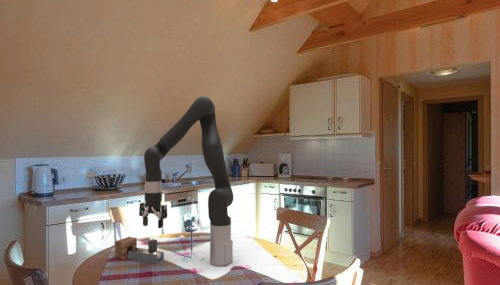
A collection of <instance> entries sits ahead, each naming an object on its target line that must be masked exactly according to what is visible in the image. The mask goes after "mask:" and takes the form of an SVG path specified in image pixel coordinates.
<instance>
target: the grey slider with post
mask: <svg viewBox="0 0 500 285" xmlns="http://www.w3.org/2000/svg"><path fill="white" fill-rule="evenodd" d="M147 242H148V244H147V246H148V248H147V249H148V251H147V250H141V249H137V250H136V251H137V252H142V253H148V254H154V255H157V259H161V257H162V254H161V253H159V252H156V251H158V239H154V238H152V239H149V240H148V241H147Z"/></svg>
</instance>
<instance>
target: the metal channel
mask: <svg viewBox="0 0 500 285" xmlns="http://www.w3.org/2000/svg"><path fill="white" fill-rule="evenodd" d="M137 249H141V250H147V251H148V248H144V247H143V248H142V247H137V248H135V251H131V250H129V251H128V257H127V259H128V260H133V261H139V262H143V263H144V262H145V263H150V264H155V265H156V264H158V263H160V262H162V261H164V260H165V258H164V257H165V256H164V254H165V252H164V251H160V250H157V251H156V252H159V253H161V254H162V257H161V259H157V255H154V254H148V253H142V252H137V251H136V250H137Z"/></svg>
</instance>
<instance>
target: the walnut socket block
mask: <svg viewBox="0 0 500 285" xmlns="http://www.w3.org/2000/svg"><path fill="white" fill-rule="evenodd" d="M137 239H138V238H137V237H134V236H126V237H124V238H121V239H118V240H116V241H115V242H114V244H115V245H114V250H115V251H114V252H115V253H114V257H115V258H116V259H120V260H124V259H126V258H127V259H128V251H129V250H131V251H135V248H138V247H137V246H138V245H137V242H138V240H137Z"/></svg>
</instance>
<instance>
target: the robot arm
mask: <svg viewBox="0 0 500 285" xmlns="http://www.w3.org/2000/svg"><path fill="white" fill-rule="evenodd" d="M215 108H216V106H215V104H214V102H213V101H212V100H211V98H210V97H208V96H205V95H204V96H199V97H198V98H196V99H195V100H194V101H193V102H192V104H191V105H190V107H189V108H188V109H187V111H185V113H184V114H183V115H182V116H181V117H180V118H179V120H178V121H177V122H176V123H175V124H173V126H171V128H169V129H168V130H167V131H166V132H165V133H164V134H163V135H162V136H161V137H160V138H159V141H158V142H157V143H155V145H153V147H148V148H147V149H146V150H145V152H144V155H143V156H144V157H143V161H144V169H145V181H144V182H145V183H144V202H140V203H139V208H138V209H139V212H138V215H139V217H142V226H143V227H147V226H149V216H150V215H151V214H152V215H154V216H156V218H157V220H158V221H157V229H162V228H163V227H164V219H167V218H168V205H167V204H162V201H163V184H162V183H163V182H162V179H163V178H162V174H163V173H162V169H161V165H160V164H161V160H162V159H164V158H165V157H166V155H168V153H169V152H170V151H171V150H172V149H173V148H174V147H175V146H176V145H177V144H178V143H179V142H180V141H181V140H182V139H183V138H184V137H185V136H186V134H187V133H188V132H189V131H190V129H191V128H192V127H193V126H194V125H195V124H197V122H198V121H199V124H200V128H201V151H202V155H203V156H202V157H203V159H204V163H205V166H206V167H207V169H208V172H209V173H210V174H211V176H212V179H213V183H214V189H212V190H211V191H210V192H209V195H208V199H207V200H208V201H207V208H208V210H207V211H208V213H207V214H208V218H209V222H210V223H209V225H210V226H209V228H210V230H209V234H210V235H209V255H210V256H209V257H210V258H209V263H210V265H212V266H216V267H222V266H224V267H227V266H228V265H229V264H231V263H232V262H233V258H234V257H233V256H234V255H233V253H234V252H233V251H234V248H233V246H234V244H233V243H234V241H233V240H232V230H231V229H232V218H231V217H230V216H229V215H228V207H229V206H231V205H233V202H234V194H233V190H232V186H231V183H230V179H229V175H228V172H227V171H228V170H227V165H226V161H225V159H226V158H225V154H224V149H223V144H222V141H221V137H220V133H219V130H218V127H217V118H216V109H215Z"/></svg>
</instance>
